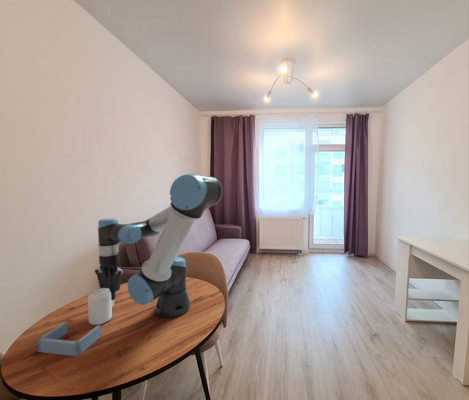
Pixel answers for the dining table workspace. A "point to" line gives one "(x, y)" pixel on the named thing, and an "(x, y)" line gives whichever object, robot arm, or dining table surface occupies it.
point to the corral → (64, 347)
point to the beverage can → (100, 306)
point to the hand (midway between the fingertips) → (110, 306)
